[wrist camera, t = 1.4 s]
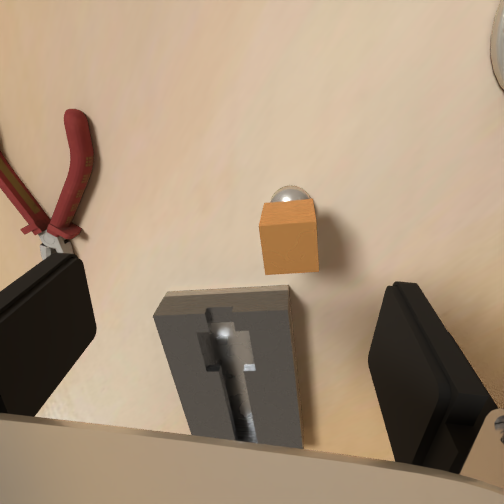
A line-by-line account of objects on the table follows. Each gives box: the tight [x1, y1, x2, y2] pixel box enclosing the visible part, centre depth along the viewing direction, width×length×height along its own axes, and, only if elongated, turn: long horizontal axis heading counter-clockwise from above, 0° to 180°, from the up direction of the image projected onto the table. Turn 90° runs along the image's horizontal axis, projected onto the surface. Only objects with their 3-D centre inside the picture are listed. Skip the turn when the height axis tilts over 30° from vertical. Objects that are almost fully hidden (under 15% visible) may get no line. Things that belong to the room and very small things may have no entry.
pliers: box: [0, 109, 94, 260], centre depth 35 cm, size 12×20×3 cm, turn 176°
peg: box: [259, 186, 319, 275], centre depth 29 cm, size 4×4×10 cm
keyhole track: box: [153, 285, 304, 449], centre depth 41 cm, size 14×24×4 cm, turn 8°
